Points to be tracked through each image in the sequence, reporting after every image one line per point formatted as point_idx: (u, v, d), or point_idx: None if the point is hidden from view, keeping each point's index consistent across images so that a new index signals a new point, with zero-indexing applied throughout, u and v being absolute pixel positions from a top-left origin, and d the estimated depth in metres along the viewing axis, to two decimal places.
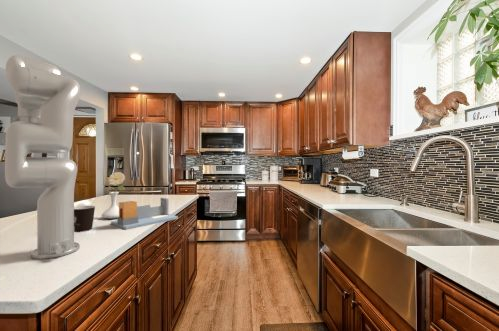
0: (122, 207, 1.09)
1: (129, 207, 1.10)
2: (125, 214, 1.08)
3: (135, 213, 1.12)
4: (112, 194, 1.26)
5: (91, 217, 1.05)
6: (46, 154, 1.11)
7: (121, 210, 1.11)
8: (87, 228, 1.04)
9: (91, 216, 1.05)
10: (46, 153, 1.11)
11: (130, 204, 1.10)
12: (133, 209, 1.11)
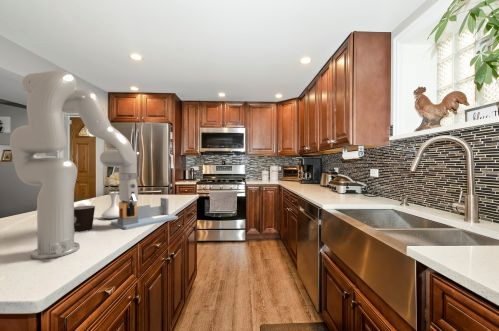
0: (122, 207, 1.09)
1: None
2: (125, 214, 1.08)
3: (135, 213, 1.12)
4: (112, 194, 1.26)
5: (91, 217, 1.05)
6: None
7: (121, 210, 1.11)
8: (87, 228, 1.04)
9: (91, 216, 1.05)
10: None
11: None
12: None
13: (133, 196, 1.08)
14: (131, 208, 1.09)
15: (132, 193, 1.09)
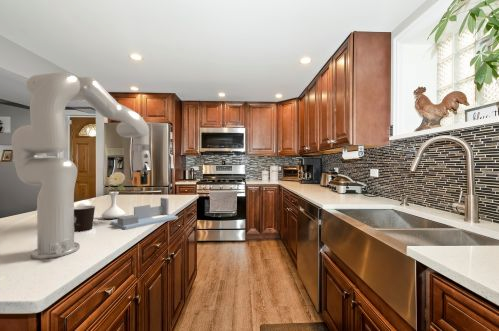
0: (136, 175, 1.18)
1: None
2: (139, 182, 1.17)
3: (148, 182, 1.21)
4: (112, 194, 1.26)
5: (91, 217, 1.05)
6: None
7: (135, 179, 1.20)
8: (87, 228, 1.04)
9: (91, 216, 1.05)
10: None
11: None
12: None
13: (146, 165, 1.17)
14: (144, 177, 1.18)
15: (145, 163, 1.18)
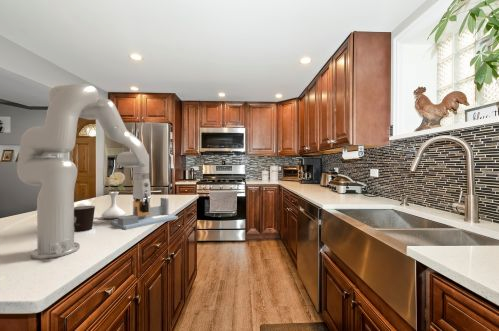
0: (136, 206, 1.18)
1: None
2: (139, 212, 1.17)
3: None
4: (112, 194, 1.26)
5: (91, 217, 1.05)
6: None
7: None
8: (87, 228, 1.04)
9: (91, 216, 1.05)
10: None
11: None
12: None
13: (147, 193, 1.17)
14: (146, 205, 1.17)
15: (146, 191, 1.18)
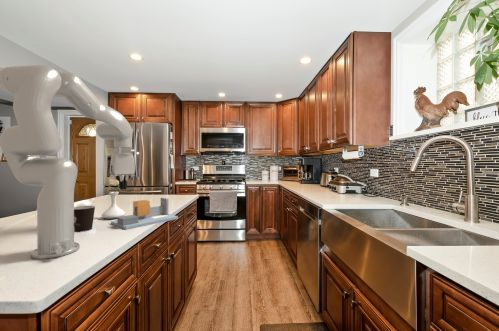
0: (136, 206, 1.18)
1: (143, 206, 1.19)
2: (139, 212, 1.17)
3: (148, 211, 1.21)
4: (112, 194, 1.26)
5: (91, 217, 1.05)
6: (119, 184, 1.13)
7: None
8: (87, 228, 1.04)
9: (91, 216, 1.05)
10: (119, 183, 1.13)
11: (143, 203, 1.19)
12: (146, 207, 1.20)
13: None
14: None
15: None
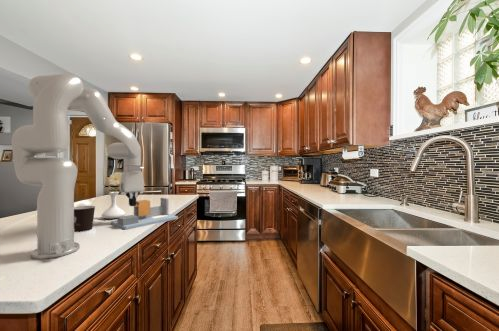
0: (137, 205, 1.18)
1: (143, 205, 1.19)
2: (140, 212, 1.18)
3: (149, 211, 1.21)
4: (112, 194, 1.26)
5: (91, 217, 1.05)
6: (129, 201, 1.17)
7: None
8: (87, 228, 1.04)
9: (91, 216, 1.05)
10: (129, 200, 1.17)
11: (144, 203, 1.20)
12: (147, 207, 1.21)
13: None
14: None
15: None
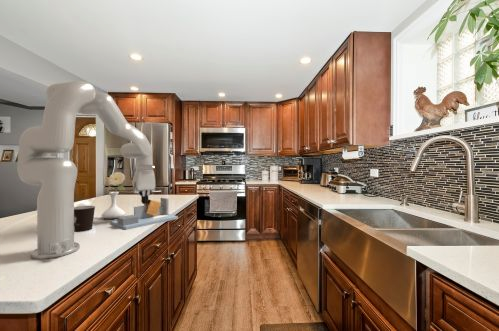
0: (148, 203, 1.23)
1: (154, 205, 1.24)
2: (149, 210, 1.21)
3: (156, 212, 1.25)
4: (112, 194, 1.26)
5: (91, 217, 1.05)
6: (141, 198, 1.22)
7: None
8: (87, 228, 1.04)
9: (91, 216, 1.05)
10: (141, 198, 1.22)
11: (155, 202, 1.24)
12: (156, 208, 1.25)
13: None
14: None
15: None
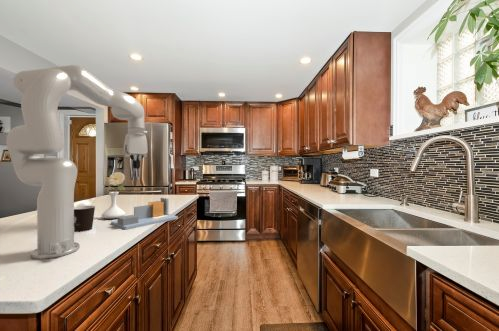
0: (151, 206, 1.24)
1: (157, 206, 1.25)
2: (154, 212, 1.24)
3: (162, 212, 1.27)
4: (112, 194, 1.26)
5: (91, 217, 1.05)
6: None
7: None
8: (87, 228, 1.04)
9: (91, 216, 1.05)
10: None
11: (158, 204, 1.25)
12: (160, 208, 1.27)
13: None
14: None
15: None
